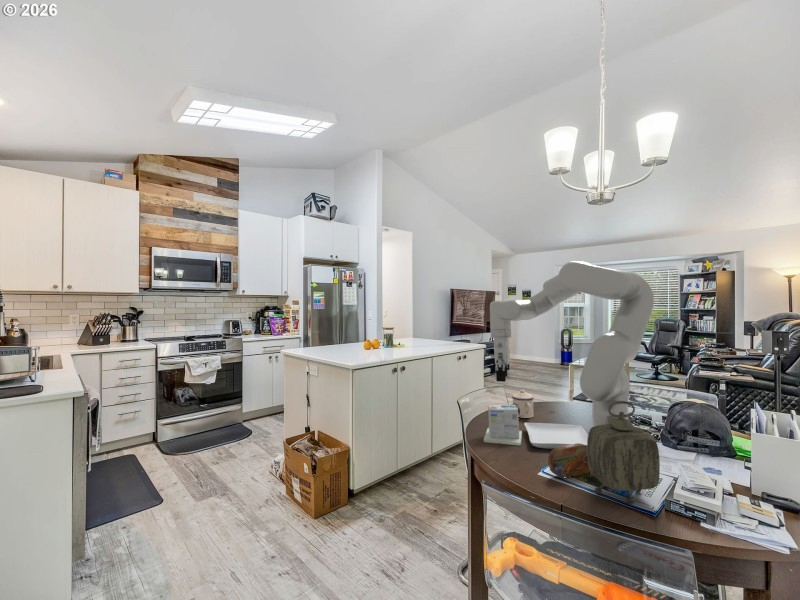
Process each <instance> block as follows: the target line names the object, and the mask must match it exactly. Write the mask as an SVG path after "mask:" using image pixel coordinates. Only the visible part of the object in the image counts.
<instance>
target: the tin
mask: <svg viewBox="0 0 800 600" xmlns="http://www.w3.org/2000/svg"><path fill="white" fill-rule="evenodd" d="M547 461H548V462H547V463H548V468H549V470H550V472H551V473H552V474H554V475H555V476H557V477H558V478H560V479H565V478H564V477H569V476H570V478H572V477H571V476H574V477H578V476H583V475H587V474H589V473H591V472H590V469H589V465H588V458H587V445H583V444H579V443H578V444H572V445H567V446H561V447H557V448H554V449H552V450H551V451H550V453H549V455H548V460H547Z"/></svg>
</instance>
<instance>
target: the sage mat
mask: <svg viewBox="0 0 800 600" xmlns="http://www.w3.org/2000/svg"><path fill="white" fill-rule="evenodd" d="M522 436H523V431H522V430H519V438H490V434H489V427H487V429H486V432H485V433H484V437H483V443H490V444H499V443H500V444H501V445H509V446H510V445H511V446H512V445H513V446H521V445H522V438H523V437H522ZM500 444H499V445H500Z"/></svg>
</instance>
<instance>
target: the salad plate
mask: <svg viewBox="0 0 800 600" xmlns="http://www.w3.org/2000/svg"><path fill="white" fill-rule="evenodd" d="M523 425H524V427H525V429H526V431H527V434H528V438H529V443H530V444H531V445H532V446H533V447H534V448H539V449H540V448H541V449H549V450H551V449H552V450H553V449H554V448H557V447H561V446H567V445H572V444H578V443H579V444H583V445H587V439H588V432H586V430H585V429H584V428H583V426H581V425H579V424H578V425H577V424H567V423H566V424H564V423H563V424H562V423H551V422H550V423H547V422H524V424H523Z"/></svg>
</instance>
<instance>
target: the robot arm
mask: <svg viewBox="0 0 800 600" xmlns="http://www.w3.org/2000/svg"><path fill="white" fill-rule="evenodd" d="M580 293H583V294H587V295H590V296H594V297H597V298H601V299H605V300H613V301H614V300H619V302H620V304H619V306H618V308H617V310H616V312H615V314H614V316H613V320H612V323H611V325H610V328H609V330H608V332H606V333H603V334H601V335H599V336H598V337H596V338H595V340H593V342H592V344H591V346H590V347H589V351H588V354H587V357H586V359H585V362H584V365H583V367H582V370H581V373H580V377H579V386H580V389H581V392H582V394H583V396H585V397H586V398H587V399H589V400H590V401H592V407H591V408H592V410H591V411H592V415H591V416H592V427H594V426H597V425H605V424H612V421H613V420H614V419H616V418H617V417H614V416H612V415H611V414H609V412H608V408H609V406H610V405H611V404H612V403H614V402H617V401H627V402H629V397H630V390H631V389H630V388H631V387H630V385H631V383H630V381H631V380H630V377H629V375H628V373H627V371H626V370H625V369H624V366H625V364H628V363H629V362H632V361H633V360H635V359H636V357H637V355H638V353H639V351H640V350H639V349H640V347H641V343H642V341H643V338H644V335H645V332H646V330H647V326H648V324H649V322H650V319H651V315H652V312H653V309H654V304H655V303H654V302H655V298H654V293H653V289H652V287H651V285H650V284H649V283H648V281H646V279H644V278H643V277H642V276H641V275H639V274H637V273H635V272H632V271H629V270H619V269H613V268H608V267H607V268H606V267H604V266H599V265H594V264H593V263H590V262H586V261H579V260H578V261H577V260H572V261H568V262H566V263H565V264H564V265H563V266H562V267H561V268H560V269H559V272H558V273H557V275H555V276H553V277H551V278H549V279H548V280H546V281H544V283H543V284H542V290H540V292H538V293H536V294H534V295H533V296H530V297H529V298H527V299H511V300H496V301H495V300H494V301H491V302H490V304H489V320H490V321H489V322H490V327H489V328H490V338H491V339H493V351H494V353H493V354H494V364H495V365H496V370H495V376H496V378H495V379H496V382H504V383H505V382H506V380H507V379H506V377H508V365H509V364H510V363H511V358H510V340H509V339H510V338H512V322H516V321H520V322H521V321H527V320H528V321H529V320H532V319H535V318H537V317H538V316H541V315H543V314H545V313H547V312H549V311H550V310H552V309H553V308H555V307H556V306H558V305H559V304H560V303H562V302H564V301H566V300H568V299H571V298H573V297H574V296H577V295H578V294H580ZM610 412H611V413H612V414H615V415H619V413H620V412H623V413H624V415H626V414H629V405H628V404H616V405H614V406H612V407H611V409H610ZM624 419H627V420H629V417H625V418H624Z"/></svg>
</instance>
